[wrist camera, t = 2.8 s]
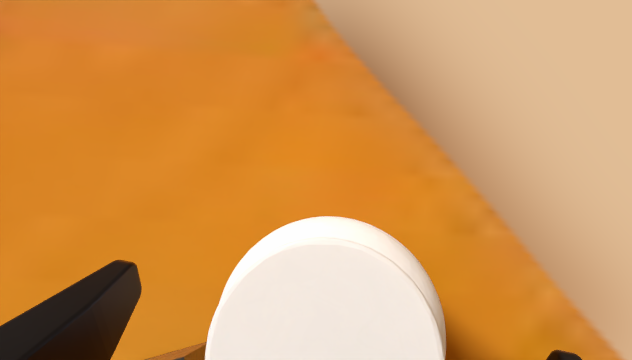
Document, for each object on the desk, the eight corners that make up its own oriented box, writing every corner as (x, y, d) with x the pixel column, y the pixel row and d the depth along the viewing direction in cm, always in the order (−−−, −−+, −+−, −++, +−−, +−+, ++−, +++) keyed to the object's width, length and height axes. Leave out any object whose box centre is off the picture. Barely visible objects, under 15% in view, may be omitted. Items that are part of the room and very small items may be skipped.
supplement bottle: (426, 272, 16) (544, 278, 7) (370, 405, 15) (413, 632, 6) (303, 214, 17) (252, 147, 7) (243, 338, 16) (100, 441, 7)
